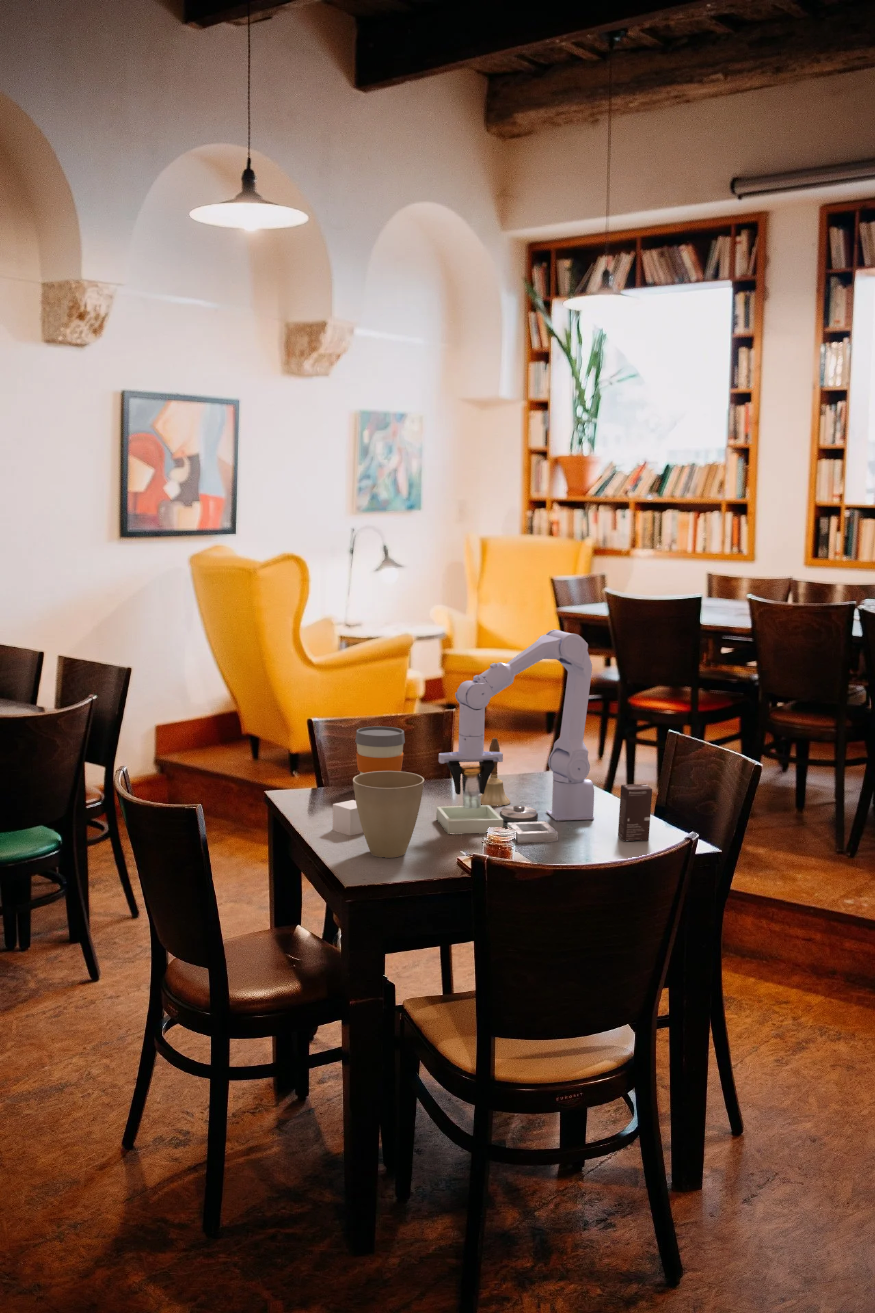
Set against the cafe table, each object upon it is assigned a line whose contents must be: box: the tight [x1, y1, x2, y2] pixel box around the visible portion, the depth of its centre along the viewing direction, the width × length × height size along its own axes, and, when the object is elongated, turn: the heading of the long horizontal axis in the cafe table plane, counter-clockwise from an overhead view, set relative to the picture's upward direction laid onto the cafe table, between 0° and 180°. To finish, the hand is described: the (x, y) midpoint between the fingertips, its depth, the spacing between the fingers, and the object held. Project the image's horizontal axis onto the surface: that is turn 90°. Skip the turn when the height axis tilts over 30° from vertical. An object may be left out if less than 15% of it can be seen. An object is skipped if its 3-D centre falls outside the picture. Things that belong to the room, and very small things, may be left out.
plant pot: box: [352, 770, 425, 859], centre depth 256 cm, size 15×15×16 cm
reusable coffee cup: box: [354, 726, 406, 774], centre depth 310 cm, size 13×13×15 cm
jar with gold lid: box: [460, 764, 482, 809], centre depth 278 cm, size 5×5×9 cm
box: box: [617, 783, 653, 842], centre depth 271 cm, size 6×4×12 cm
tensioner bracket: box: [499, 804, 559, 844], centre depth 277 cm, size 9×20×4 cm, turn 12°
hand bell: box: [480, 737, 511, 807], centre depth 300 cm, size 8×8×16 cm
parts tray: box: [435, 805, 504, 835], centre depth 279 cm, size 13×13×3 cm
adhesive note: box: [332, 799, 364, 837], centre depth 273 cm, size 6×6×6 cm
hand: (469, 793), depth 278 cm, fingers closed on jar with gold lid, 5 cm apart
